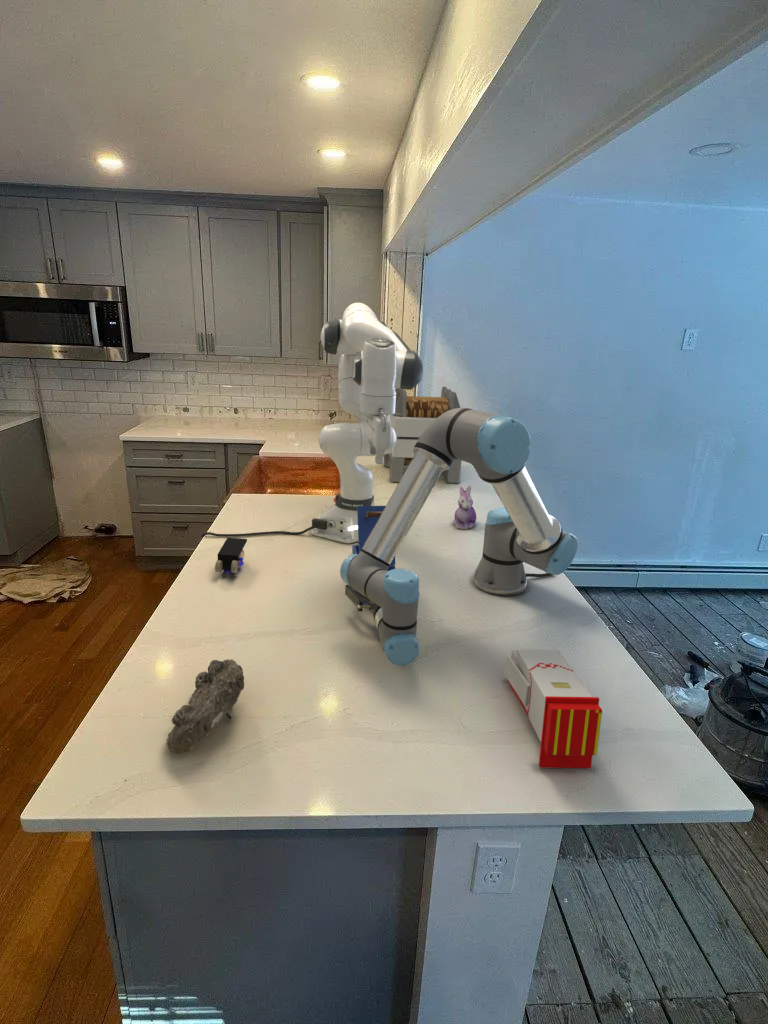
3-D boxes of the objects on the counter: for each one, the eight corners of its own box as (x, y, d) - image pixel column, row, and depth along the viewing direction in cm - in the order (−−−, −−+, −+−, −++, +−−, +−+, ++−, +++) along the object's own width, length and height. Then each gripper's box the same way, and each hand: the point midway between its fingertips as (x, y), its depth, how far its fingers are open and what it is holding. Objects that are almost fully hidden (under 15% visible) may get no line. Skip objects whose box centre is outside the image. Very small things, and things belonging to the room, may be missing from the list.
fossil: (192, 660, 117) (244, 628, 112) (224, 691, 120) (276, 661, 115) (142, 746, 98) (202, 712, 93) (182, 779, 101) (242, 748, 96)
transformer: (382, 463, 289) (386, 382, 275) (445, 464, 293) (451, 384, 279) (390, 482, 257) (394, 392, 243) (460, 483, 261) (468, 394, 247)
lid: (356, 506, 151) (360, 501, 143) (392, 506, 153) (397, 501, 145) (359, 565, 149) (363, 563, 141) (394, 564, 150) (400, 562, 143)
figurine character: (238, 584, 162) (249, 557, 175) (236, 562, 158) (247, 536, 172) (215, 584, 161) (227, 556, 175) (212, 561, 158) (225, 535, 171)
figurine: (462, 531, 204) (465, 492, 199) (446, 522, 213) (449, 483, 207) (483, 528, 208) (487, 489, 203) (467, 518, 217) (470, 481, 212)
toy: (554, 631, 124) (612, 705, 95) (548, 687, 127) (603, 776, 98) (499, 630, 124) (540, 704, 94) (495, 686, 126) (533, 775, 97)
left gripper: (398, 413, 134) (395, 469, 139) (383, 399, 153) (381, 449, 158) (372, 412, 133) (370, 469, 138) (360, 399, 152) (358, 449, 157)
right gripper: (340, 633, 132) (332, 589, 152) (436, 627, 136) (415, 585, 157) (341, 605, 129) (332, 563, 150) (438, 600, 134) (417, 560, 154)
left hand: (375, 458), depth 148 cm, fingers open, 8 cm apart
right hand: (375, 574), depth 153 cm, fingers open, 11 cm apart
